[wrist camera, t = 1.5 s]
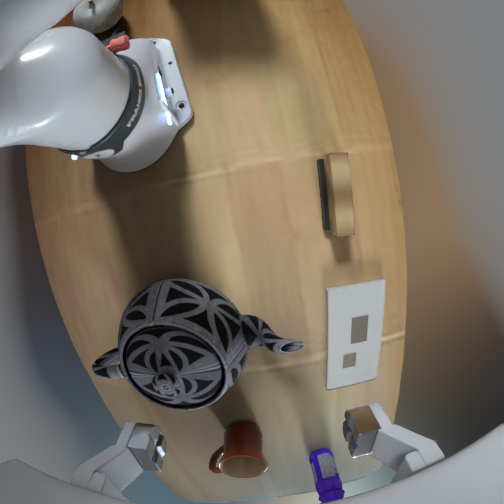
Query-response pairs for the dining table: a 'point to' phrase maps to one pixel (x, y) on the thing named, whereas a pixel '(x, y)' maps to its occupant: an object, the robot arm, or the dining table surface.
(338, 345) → the tile
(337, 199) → the brush
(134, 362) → the teapot
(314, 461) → the bottle
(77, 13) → the decorative object
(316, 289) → the dining table surface
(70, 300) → the dining table surface
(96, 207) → the dining table surface
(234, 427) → the mug
